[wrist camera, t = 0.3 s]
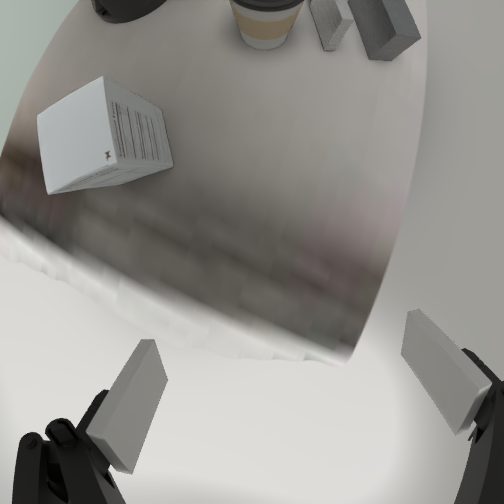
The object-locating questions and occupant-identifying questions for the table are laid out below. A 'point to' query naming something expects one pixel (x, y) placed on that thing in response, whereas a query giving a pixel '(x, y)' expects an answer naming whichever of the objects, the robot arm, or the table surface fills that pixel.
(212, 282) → the table surface
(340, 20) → the light grey slab
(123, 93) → the supplement box
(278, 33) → the coffee cup
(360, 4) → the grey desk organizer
